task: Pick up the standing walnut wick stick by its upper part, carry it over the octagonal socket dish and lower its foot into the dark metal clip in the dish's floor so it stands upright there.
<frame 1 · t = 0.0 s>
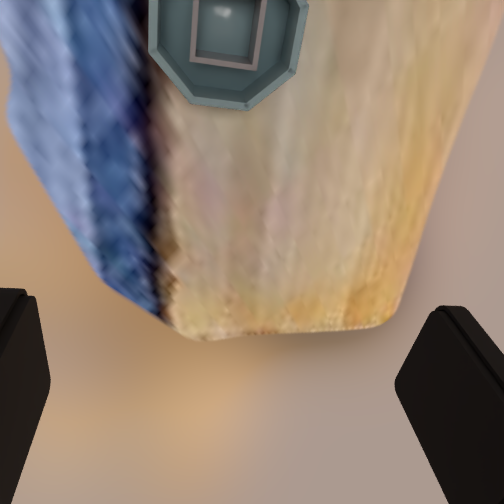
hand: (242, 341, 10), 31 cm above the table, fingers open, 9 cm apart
octagonal socket dish: (224, 22, 33), on the table
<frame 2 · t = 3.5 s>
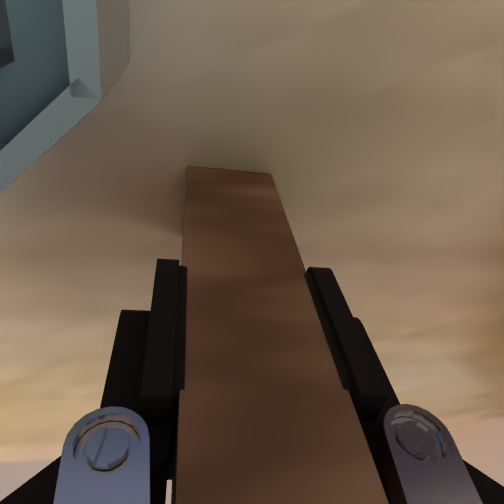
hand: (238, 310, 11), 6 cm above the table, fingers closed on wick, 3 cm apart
wick: (225, 207, 15), on the table, touching gripper
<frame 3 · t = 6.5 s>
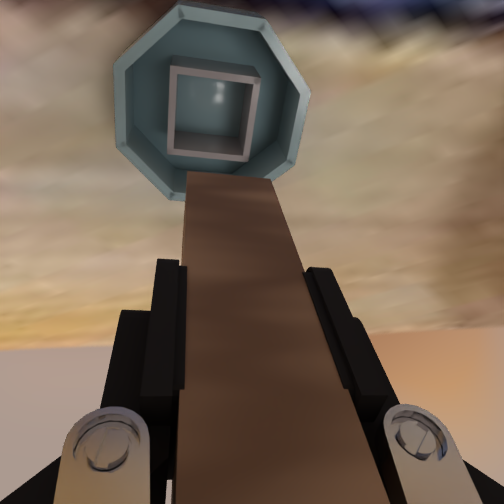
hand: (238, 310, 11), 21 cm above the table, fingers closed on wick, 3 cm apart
octagonal socket dish: (209, 99, 28), on the table
wick: (224, 211, 15), point 16 cm above the table, touching gripper
when the fingers open (7 cm above the table, at t = 9.8 s): wick drops 1 cm, resting on octagonal socket dish.
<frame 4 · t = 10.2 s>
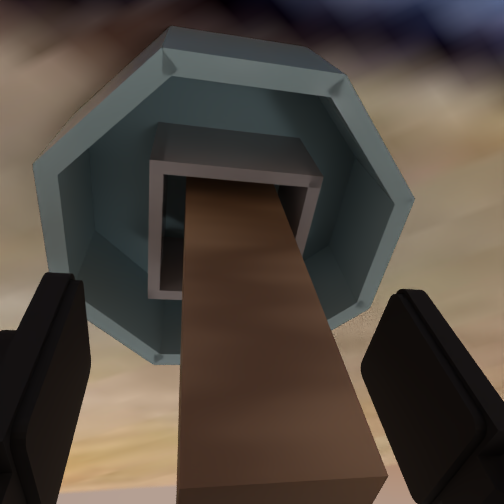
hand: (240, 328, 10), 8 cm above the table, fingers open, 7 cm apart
octagonal socket dish: (222, 187, 17), on the table
wick: (223, 196, 16), point 1 cm above the table, touching octagonal socket dish
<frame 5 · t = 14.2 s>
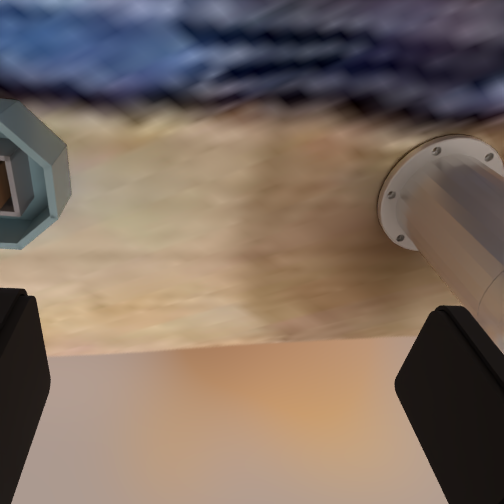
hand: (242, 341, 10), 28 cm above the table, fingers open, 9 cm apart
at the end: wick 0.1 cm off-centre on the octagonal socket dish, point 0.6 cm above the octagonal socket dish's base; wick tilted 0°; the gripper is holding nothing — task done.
